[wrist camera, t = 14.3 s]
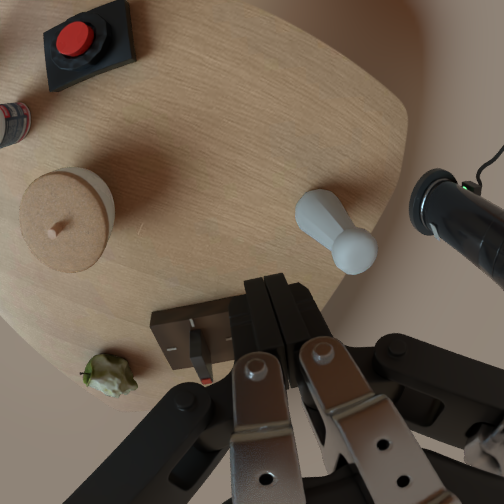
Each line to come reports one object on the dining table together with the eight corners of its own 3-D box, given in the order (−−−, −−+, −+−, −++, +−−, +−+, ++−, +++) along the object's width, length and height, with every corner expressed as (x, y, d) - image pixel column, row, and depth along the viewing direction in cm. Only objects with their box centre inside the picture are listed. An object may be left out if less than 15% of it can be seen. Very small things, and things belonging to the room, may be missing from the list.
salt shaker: (291, 184, 33) (337, 229, 22) (334, 183, 34) (394, 225, 23) (289, 228, 36) (328, 289, 25) (330, 226, 37) (381, 281, 26)
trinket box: (82, 138, 26) (43, 153, 18) (143, 201, 31) (124, 236, 23) (36, 201, 28) (-3, 233, 20) (91, 256, 33) (66, 300, 25)
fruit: (80, 347, 42) (68, 375, 34) (125, 339, 43) (118, 369, 36) (101, 384, 45) (94, 413, 37) (144, 379, 46) (141, 409, 39)
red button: (92, 19, 17) (86, 15, 16) (95, 48, 19) (89, 45, 17) (62, 33, 17) (55, 30, 15) (65, 61, 19) (57, 60, 17)
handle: (189, 330, 38) (189, 359, 33) (200, 328, 38) (201, 357, 33) (200, 357, 41) (202, 385, 36) (211, 356, 41) (213, 383, 36)
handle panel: (232, 295, 40) (235, 310, 37) (244, 343, 45) (247, 358, 42) (151, 311, 39) (148, 326, 36) (173, 356, 44) (173, 371, 41)
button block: (128, 3, 19) (120, -9, 16) (136, 61, 23) (127, 55, 20) (51, 35, 19) (35, 30, 15) (58, 92, 23) (41, 92, 19)
